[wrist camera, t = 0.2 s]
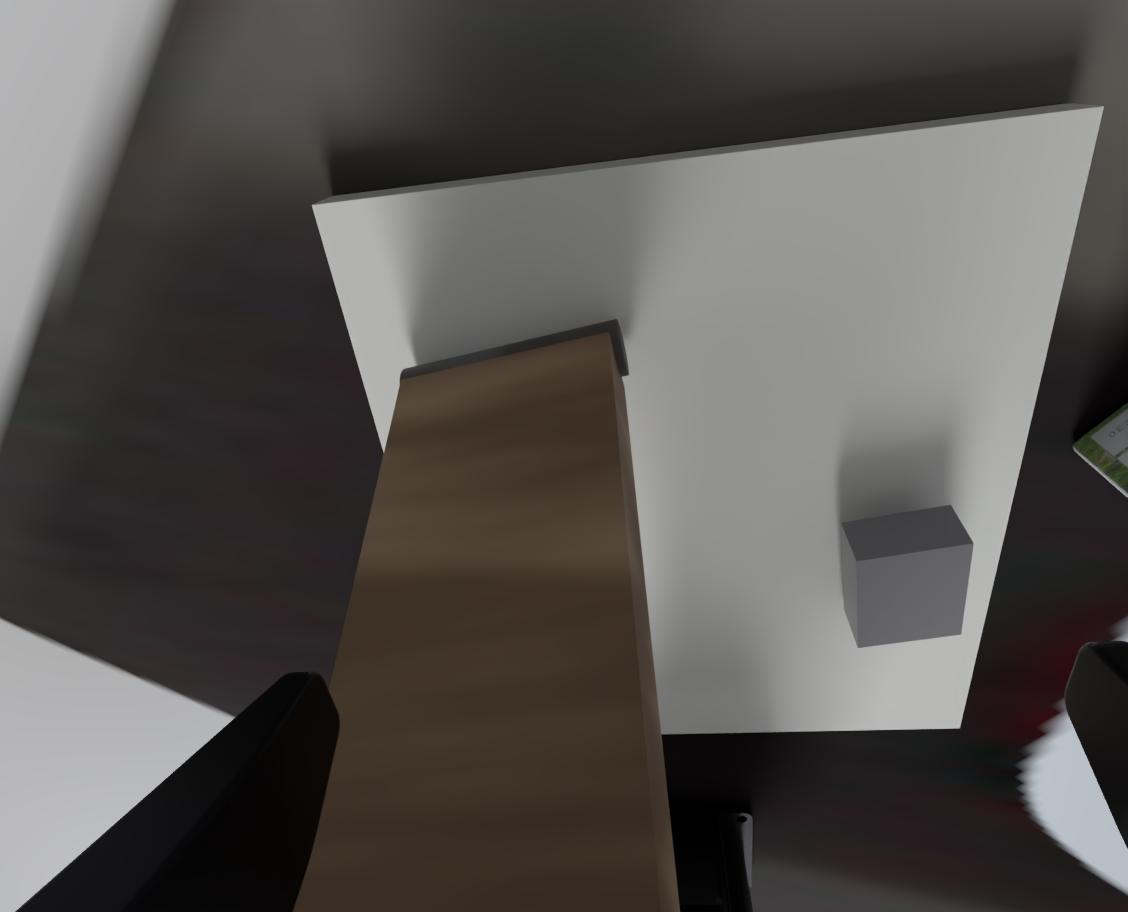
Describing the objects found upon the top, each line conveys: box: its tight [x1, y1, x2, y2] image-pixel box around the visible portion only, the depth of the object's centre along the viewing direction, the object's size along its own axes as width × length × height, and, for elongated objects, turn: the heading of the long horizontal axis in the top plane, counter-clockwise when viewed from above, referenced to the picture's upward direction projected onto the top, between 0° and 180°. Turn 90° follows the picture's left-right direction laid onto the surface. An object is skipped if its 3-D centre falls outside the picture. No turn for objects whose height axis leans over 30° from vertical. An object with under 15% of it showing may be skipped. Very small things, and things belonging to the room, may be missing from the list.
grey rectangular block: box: [841, 505, 974, 648], centre depth 22 cm, size 4×3×2 cm
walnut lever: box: [293, 319, 680, 912], centre depth 15 cm, size 3×6×17 cm, turn 105°
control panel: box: [312, 103, 1104, 734], centre depth 23 cm, size 22×20×2 cm
